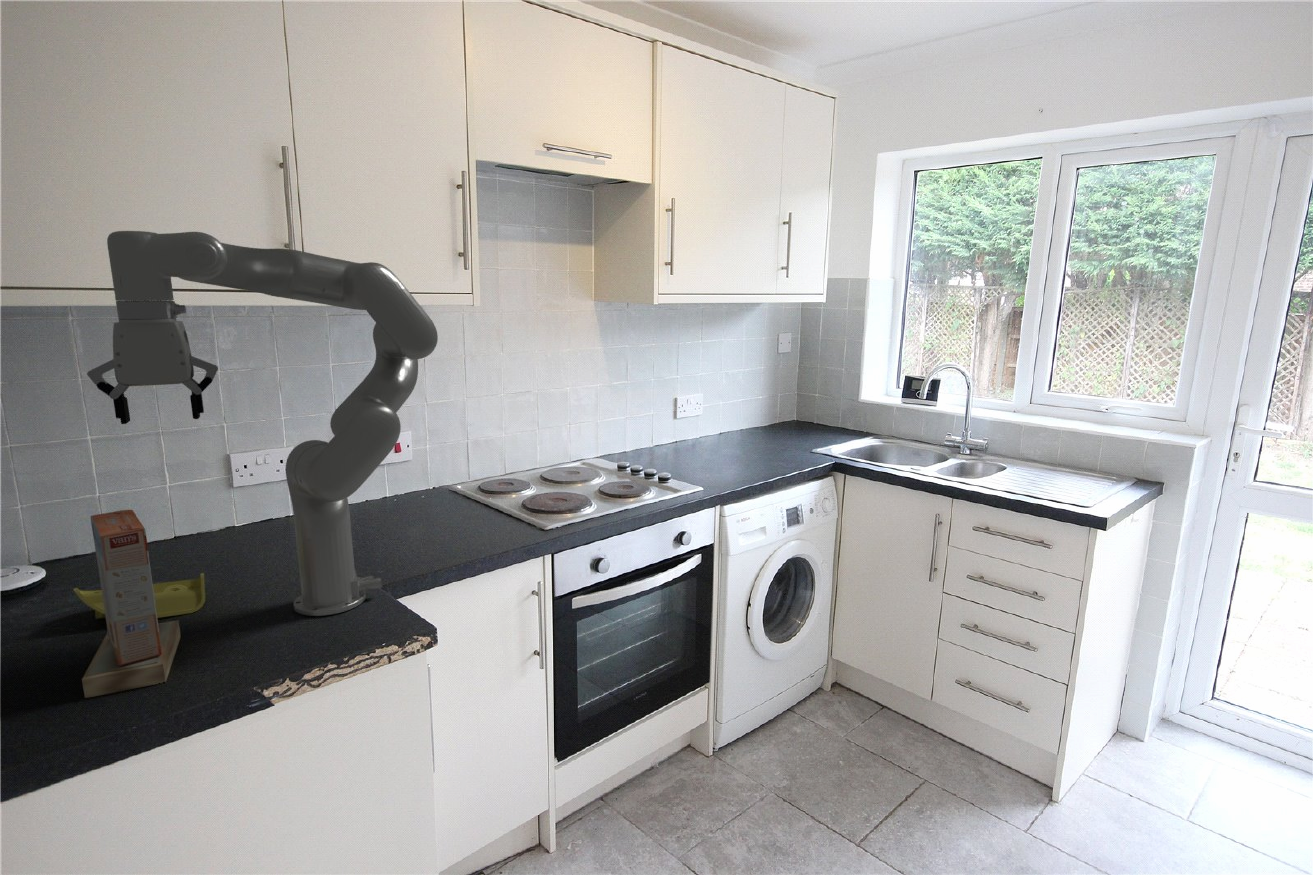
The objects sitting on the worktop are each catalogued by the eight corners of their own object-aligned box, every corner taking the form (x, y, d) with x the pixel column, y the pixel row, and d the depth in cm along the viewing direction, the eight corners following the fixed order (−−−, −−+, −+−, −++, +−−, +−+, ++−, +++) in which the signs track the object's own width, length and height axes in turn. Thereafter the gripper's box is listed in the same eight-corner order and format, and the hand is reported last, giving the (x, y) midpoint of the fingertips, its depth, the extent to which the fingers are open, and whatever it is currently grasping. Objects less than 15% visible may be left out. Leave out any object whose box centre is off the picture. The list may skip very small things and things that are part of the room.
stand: (180, 636, 127) (178, 619, 126) (165, 682, 112) (162, 663, 111) (110, 648, 122) (107, 631, 122) (85, 698, 107) (81, 678, 107)
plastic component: (203, 578, 147) (204, 571, 139) (205, 615, 145) (206, 610, 137) (78, 593, 136) (71, 587, 128) (78, 633, 134) (71, 629, 126)
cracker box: (165, 655, 113) (146, 526, 109) (118, 668, 109) (96, 535, 105) (151, 625, 124) (133, 506, 119) (107, 636, 120) (87, 514, 116)
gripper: (213, 311, 121) (225, 413, 125) (84, 313, 114) (101, 421, 117) (208, 312, 115) (221, 419, 118) (72, 314, 107) (90, 428, 111)
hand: (161, 420), depth 118 cm, fingers open, 9 cm apart
